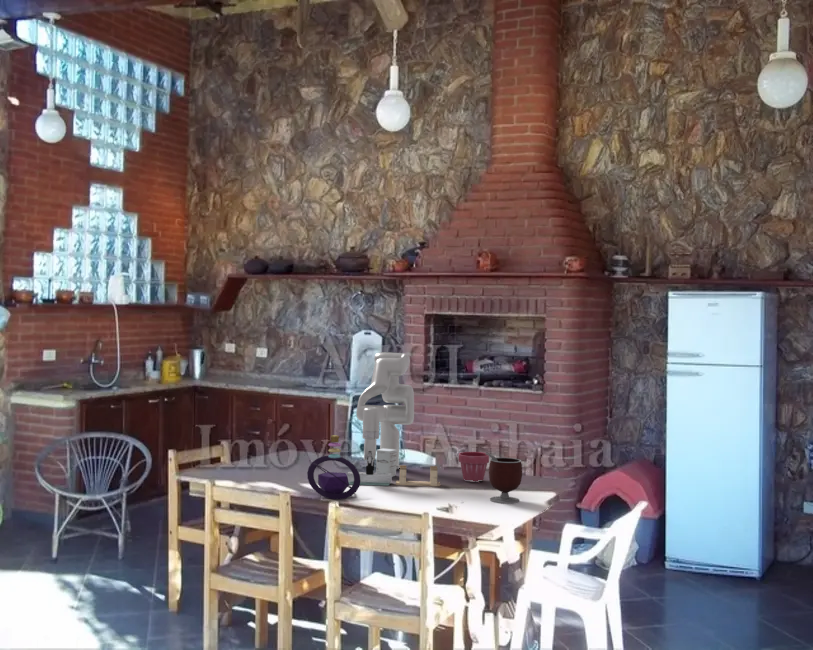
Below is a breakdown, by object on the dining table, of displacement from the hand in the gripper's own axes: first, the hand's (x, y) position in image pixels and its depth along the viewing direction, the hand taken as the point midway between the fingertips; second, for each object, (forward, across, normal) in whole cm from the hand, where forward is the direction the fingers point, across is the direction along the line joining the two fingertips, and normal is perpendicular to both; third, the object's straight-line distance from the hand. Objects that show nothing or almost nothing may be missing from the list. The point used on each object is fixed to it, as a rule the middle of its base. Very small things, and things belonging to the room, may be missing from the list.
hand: (370, 472), depth 398 cm
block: (+4, 0, 0) cm, 4 cm away
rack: (+5, 0, +22) cm, 22 cm away
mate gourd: (+5, +31, +57) cm, 65 cm away
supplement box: (+6, -20, +7) cm, 22 cm away
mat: (+5, +1, 0) cm, 5 cm away
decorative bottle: (+4, +29, -14) cm, 33 cm away
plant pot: (+6, -13, +48) cm, 50 cm away
